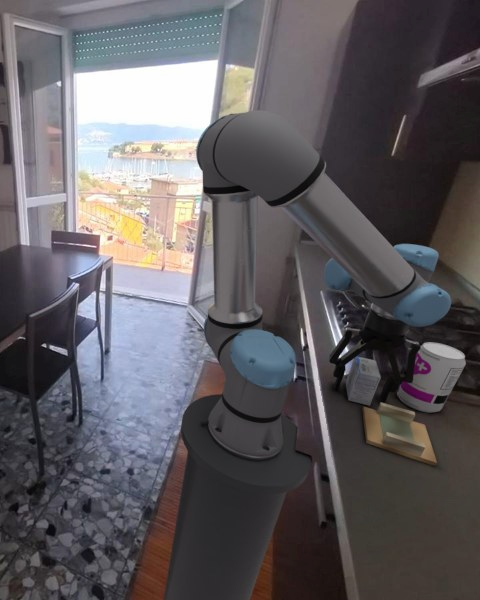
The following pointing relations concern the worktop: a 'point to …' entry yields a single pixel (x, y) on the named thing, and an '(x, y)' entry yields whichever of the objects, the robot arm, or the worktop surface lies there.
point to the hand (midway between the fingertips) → (358, 393)
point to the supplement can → (432, 377)
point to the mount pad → (398, 433)
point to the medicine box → (362, 380)
